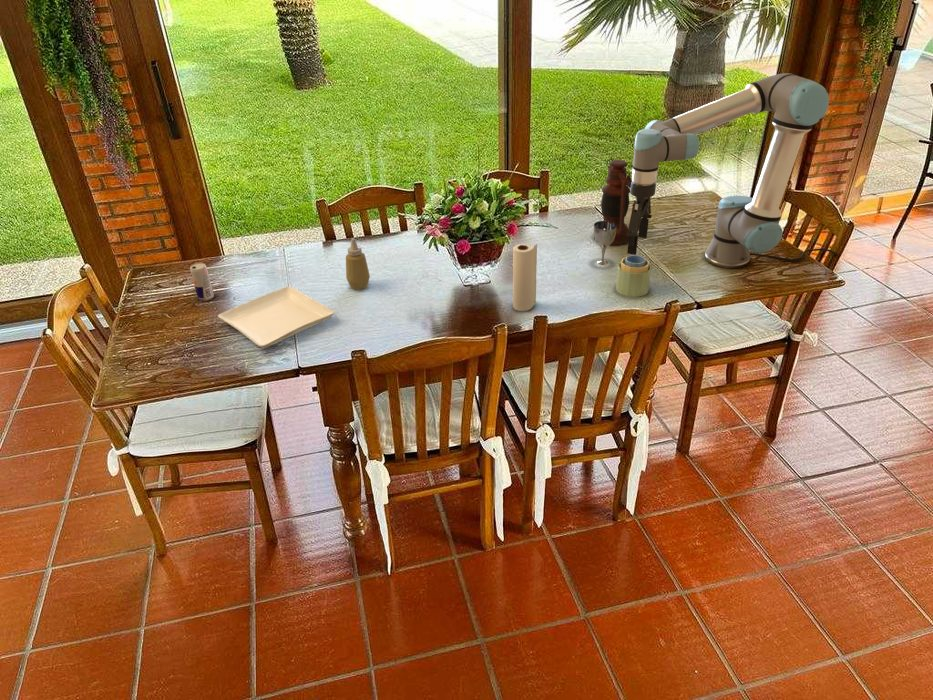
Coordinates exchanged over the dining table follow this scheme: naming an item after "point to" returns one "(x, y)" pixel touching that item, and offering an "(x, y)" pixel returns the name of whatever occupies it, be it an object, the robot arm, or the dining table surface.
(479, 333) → the dining table surface
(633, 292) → the stack base cup
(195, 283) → the energy drink
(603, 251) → the wine glass
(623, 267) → the middle cup
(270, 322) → the square plate
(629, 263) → the top cup
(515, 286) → the paper towel roll
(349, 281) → the squeeze bottle
